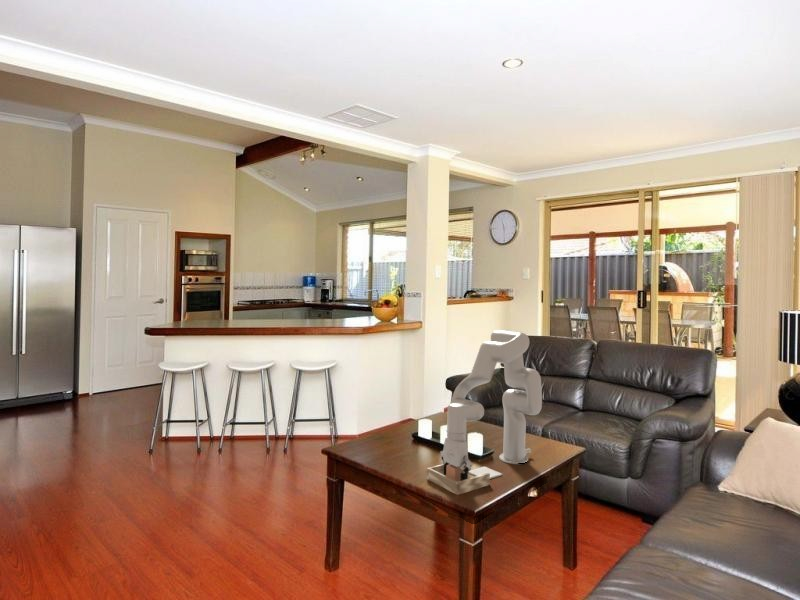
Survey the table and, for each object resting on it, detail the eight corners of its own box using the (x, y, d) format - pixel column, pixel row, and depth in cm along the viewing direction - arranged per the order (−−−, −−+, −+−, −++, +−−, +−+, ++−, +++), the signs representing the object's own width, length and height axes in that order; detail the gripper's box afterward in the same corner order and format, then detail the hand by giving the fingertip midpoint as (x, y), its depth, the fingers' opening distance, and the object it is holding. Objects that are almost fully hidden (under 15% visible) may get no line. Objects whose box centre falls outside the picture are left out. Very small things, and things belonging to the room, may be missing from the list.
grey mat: (484, 467, 222) (484, 466, 222) (502, 475, 214) (502, 473, 214) (467, 472, 216) (467, 471, 216) (484, 480, 208) (484, 479, 208)
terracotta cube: (455, 479, 208) (455, 462, 208) (464, 483, 204) (464, 466, 204) (446, 482, 205) (446, 464, 205) (454, 486, 201) (455, 468, 201)
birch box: (458, 470, 218) (458, 459, 218) (489, 484, 204) (489, 473, 203) (426, 479, 208) (427, 468, 208) (457, 495, 194) (457, 483, 193)
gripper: (434, 431, 209) (433, 473, 210) (464, 443, 195) (463, 487, 196) (448, 428, 213) (447, 469, 214) (479, 439, 199) (477, 483, 200)
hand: (455, 478), depth 205 cm, fingers open, 9 cm apart
